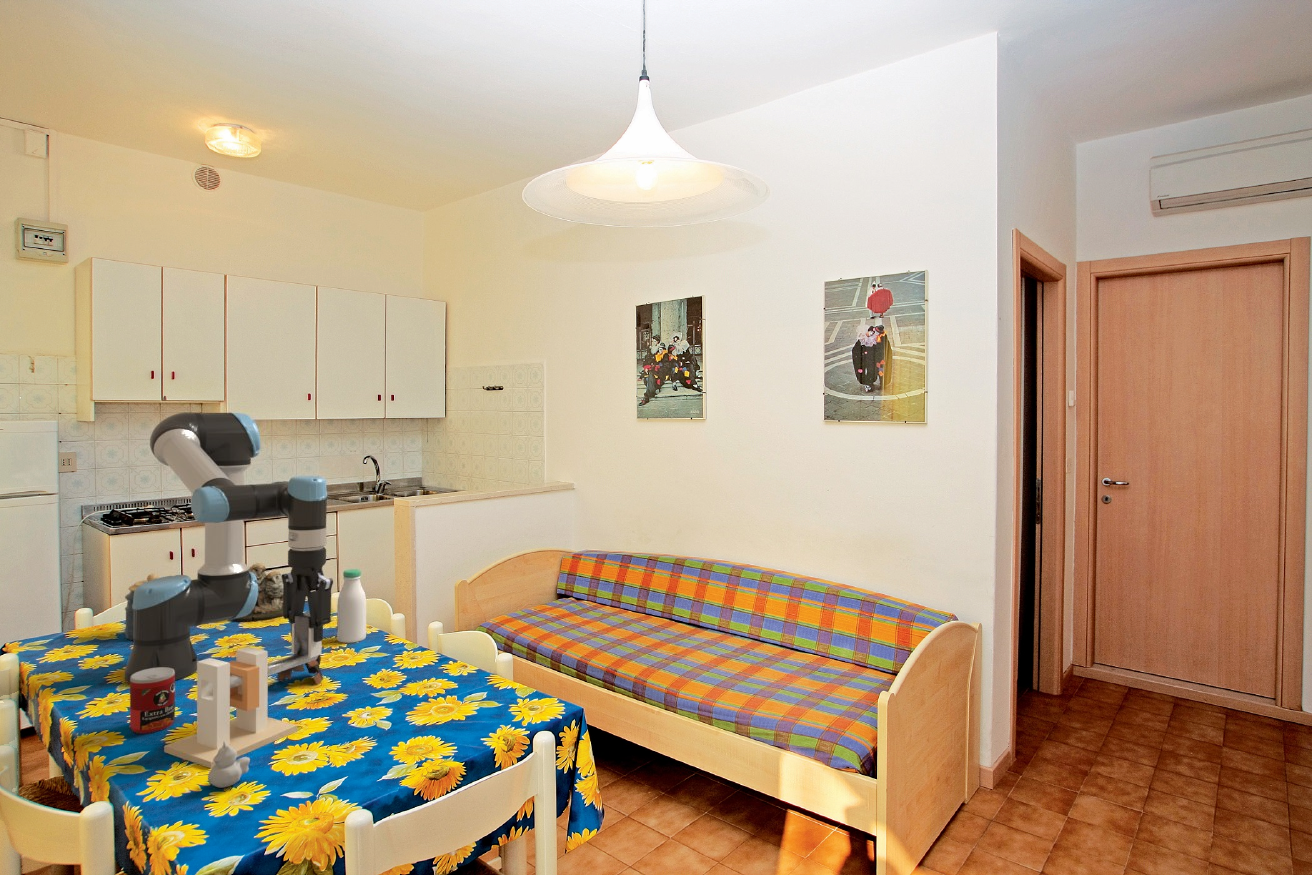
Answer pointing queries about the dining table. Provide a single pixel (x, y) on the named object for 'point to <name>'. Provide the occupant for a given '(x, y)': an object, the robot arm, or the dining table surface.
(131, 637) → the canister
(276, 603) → the owl figurine
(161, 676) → the canned food
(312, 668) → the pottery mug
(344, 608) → the milk bottle
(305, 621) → the shaft
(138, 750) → the dining table surface
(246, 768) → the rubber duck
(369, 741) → the dining table surface
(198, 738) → the wooden twin post stand
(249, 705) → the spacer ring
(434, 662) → the dining table surface
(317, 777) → the dining table surface
